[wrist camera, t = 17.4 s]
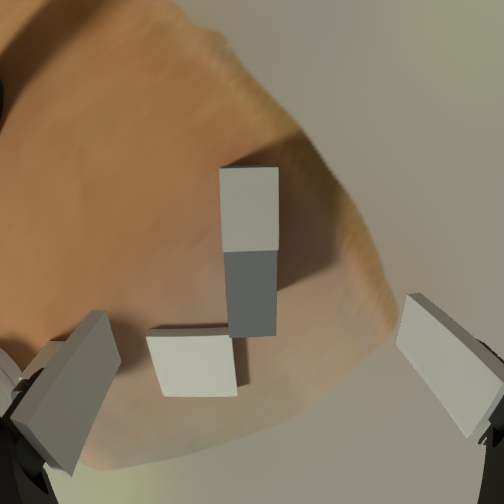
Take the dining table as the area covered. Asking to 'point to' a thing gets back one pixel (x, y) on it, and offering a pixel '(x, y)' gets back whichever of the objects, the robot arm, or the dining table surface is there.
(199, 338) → the tile
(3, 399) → the honey pot
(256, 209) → the grey rectangular block
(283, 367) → the dining table surface
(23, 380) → the jar
